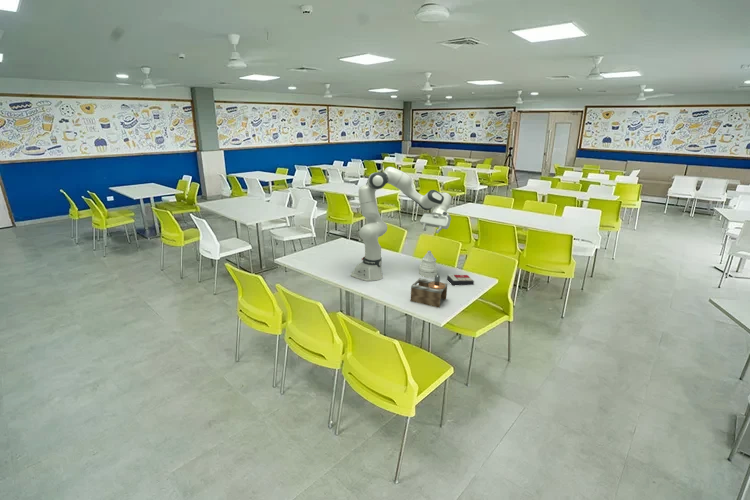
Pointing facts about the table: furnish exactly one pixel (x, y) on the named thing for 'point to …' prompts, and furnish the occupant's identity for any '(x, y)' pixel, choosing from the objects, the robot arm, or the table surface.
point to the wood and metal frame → (427, 293)
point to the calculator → (460, 280)
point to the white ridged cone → (428, 266)
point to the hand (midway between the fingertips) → (430, 231)
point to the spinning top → (437, 284)
